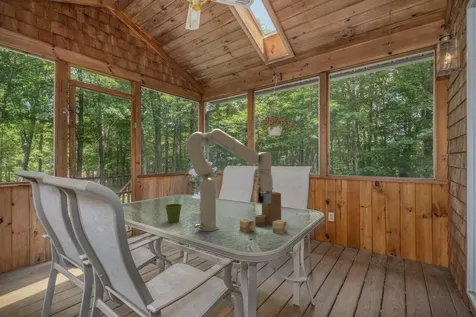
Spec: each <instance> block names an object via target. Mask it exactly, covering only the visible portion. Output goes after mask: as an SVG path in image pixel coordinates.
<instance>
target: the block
mask: <svg viewBox="0 0 476 317" xmlns="http://www.w3.org/2000/svg"><path fill="white" fill-rule="evenodd" d="M265 193H266V192H265ZM261 215H267V224H268V225H273V221H276V220H282V193H281V192H275V191H272V192H271V203H269V204H261ZM267 224H266V225H267Z"/></svg>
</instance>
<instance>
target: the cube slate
mask: <svg viewBox="0 0 476 317" xmlns="http://www.w3.org/2000/svg"><path fill="white" fill-rule="evenodd" d="M262 196H263V203H259V202H258V201H257V204H260V205H262V204H269V203H271V193H265V192H263V195H262Z"/></svg>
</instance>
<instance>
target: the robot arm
mask: <svg viewBox="0 0 476 317" xmlns="http://www.w3.org/2000/svg"><path fill="white" fill-rule="evenodd" d="M214 145H218V146H220V147H221V148H224V149H225V150H227V151H228V152H229V153H231V154H234V155H236V156H237V157H239V158H240V159H242V160H244V161H245V162H247V163H248V164H250V165H255V164H256V165H257V164H258V176H257V183H256V184H257V185H256V188H255V192H256V194H257V203H258V202H259V203H258V204H260V203H263V196H262V195H263V192H266V193H271V192H273V189H274V187H273V186H274V185H273V183H274V182H273V177H272V176H273V175H272V153H271V152H264V151H263V152H256V151H254V150H253V149H251V148H249V147H248V146H247V145H245V144H243V143H242V142H240V141H239V140H238V139H236V138H235V137H233V136H231V135H230V134H228V133H227V132H225V131H223V130H222V129H220V128H214V129H212V130H211V132H205V133H203V132H201V131H196V132H193V133H192V134H191V135H190V136H189V137H188V138H187V142H186V151H187V153H188V156H189V159H190V161H191V164H192V167H193V169H194V172H195V174H196V175H197V176H199V177H200V179H201V181H200V183H199V197H200V199H199V200H200V201H199V202H200V221H199V222H198V223H196V224H194V225H193V228H194V229H198V231H201V232H213V231H217V230H219V228H220V227H219V225H218V224H217V194H216V189H217V187H218V179H217V177H216V173H215V172H214V169H213V167H212V165H211V163H210V162H208V161H207V160H206V158H205V155H204V152H203V150H202V147H208V146H214Z"/></svg>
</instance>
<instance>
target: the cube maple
mask: <svg viewBox="0 0 476 317" xmlns="http://www.w3.org/2000/svg"><path fill="white" fill-rule="evenodd" d="M287 228H288V223H287V220H282V219H281V220H276V221H273V224H272V233H276V234H281V235H283V234H284V233H286V232H288V230H287Z"/></svg>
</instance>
